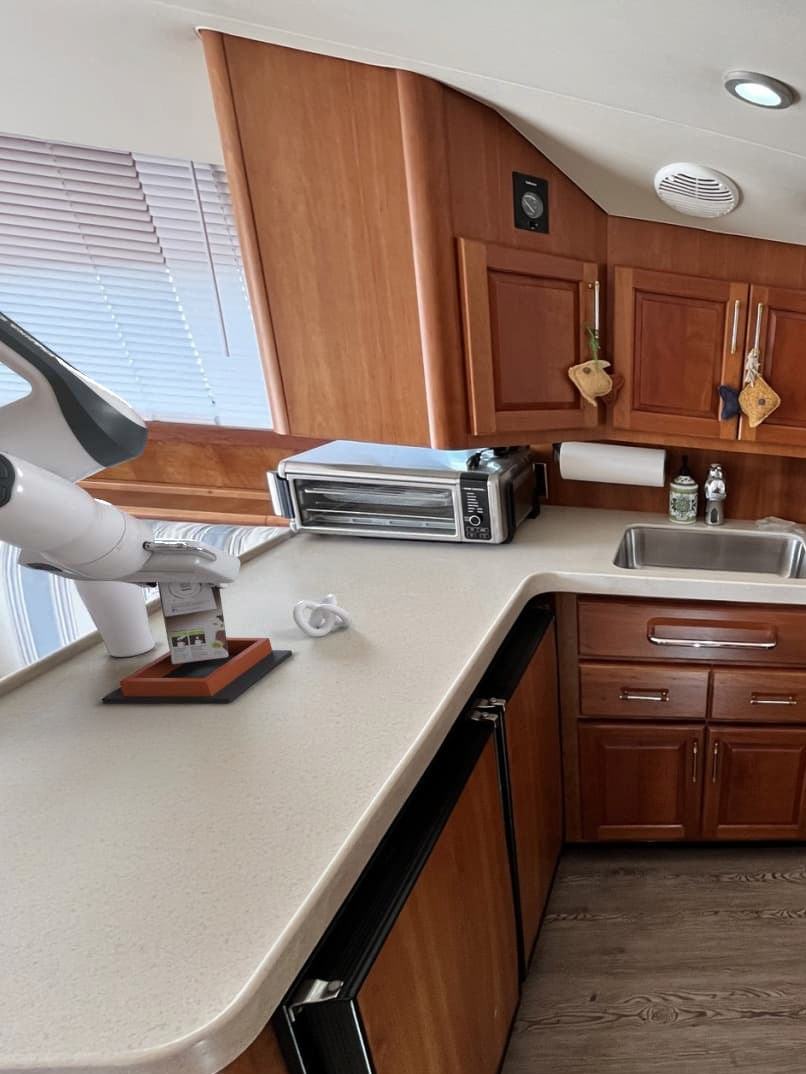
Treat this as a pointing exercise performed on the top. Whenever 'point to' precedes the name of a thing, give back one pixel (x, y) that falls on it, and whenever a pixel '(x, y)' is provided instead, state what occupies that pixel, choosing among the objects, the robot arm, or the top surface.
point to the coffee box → (193, 621)
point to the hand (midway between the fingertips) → (188, 583)
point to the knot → (321, 616)
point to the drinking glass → (118, 615)
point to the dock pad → (201, 676)
